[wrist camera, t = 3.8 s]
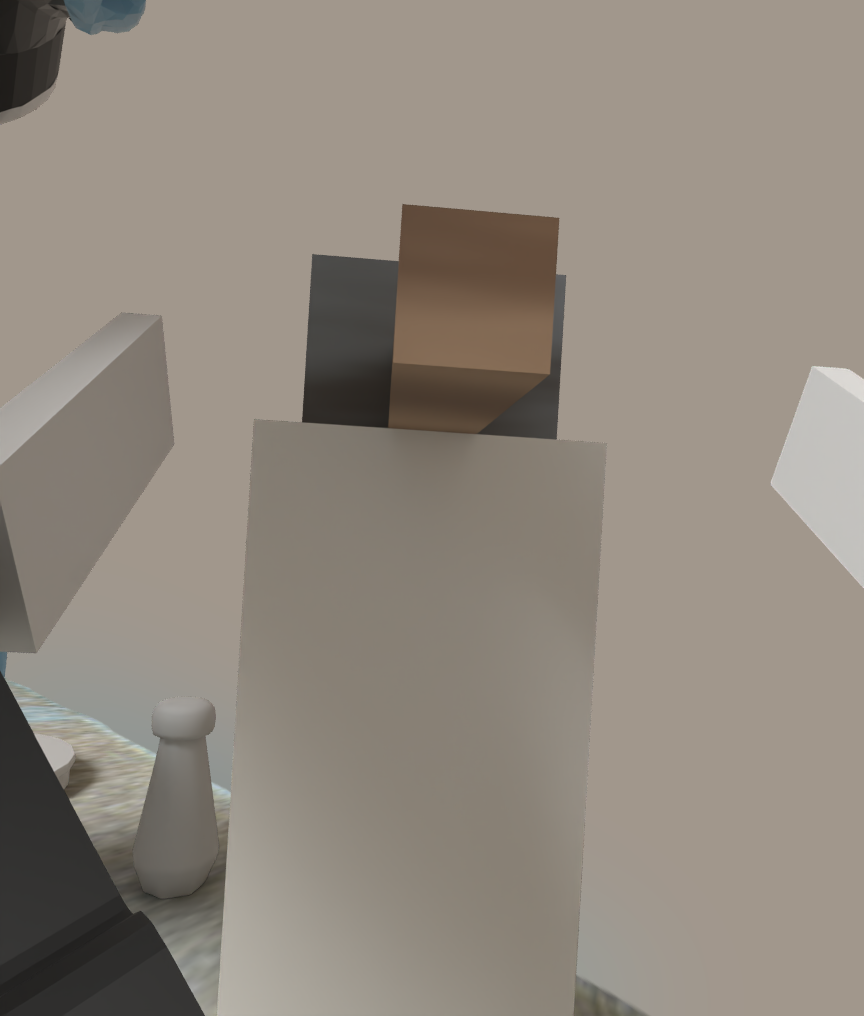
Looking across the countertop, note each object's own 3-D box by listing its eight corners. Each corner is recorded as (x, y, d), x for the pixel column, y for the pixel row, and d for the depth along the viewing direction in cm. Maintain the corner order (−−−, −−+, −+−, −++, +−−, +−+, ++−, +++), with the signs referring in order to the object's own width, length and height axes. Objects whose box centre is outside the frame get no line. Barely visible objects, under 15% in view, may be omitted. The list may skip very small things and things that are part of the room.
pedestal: (556, 1320, 25) (606, 443, 25) (198, 1326, 24) (253, 419, 24) (493, 1030, 39) (526, 467, 39) (265, 1028, 38) (300, 452, 38)
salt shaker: (200, 857, 56) (210, 687, 56) (229, 890, 52) (240, 705, 52) (119, 876, 53) (131, 694, 53) (143, 914, 48) (155, 715, 48)
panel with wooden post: (702, 385, 14) (720, 77, 14) (231, 351, 14) (250, 29, 14) (523, 455, 32) (531, 319, 32) (317, 441, 32) (325, 302, 32)
